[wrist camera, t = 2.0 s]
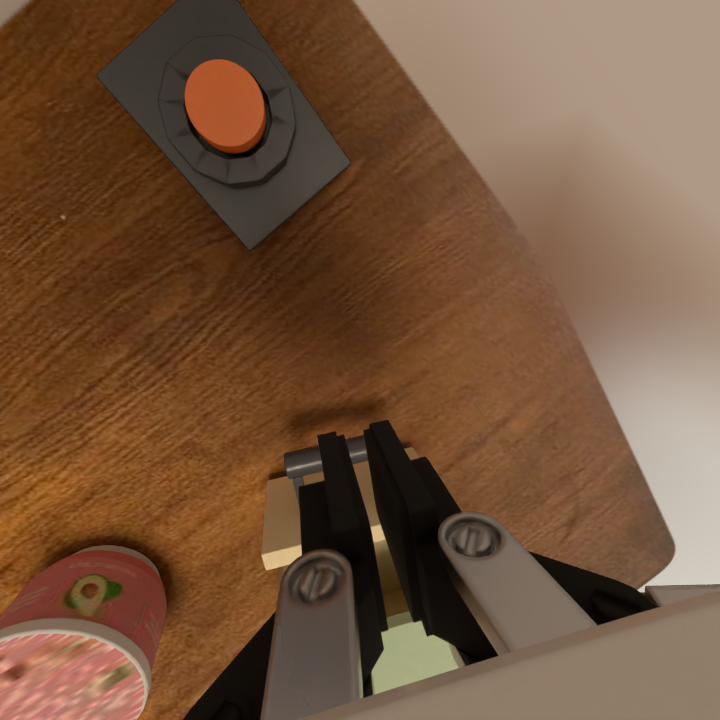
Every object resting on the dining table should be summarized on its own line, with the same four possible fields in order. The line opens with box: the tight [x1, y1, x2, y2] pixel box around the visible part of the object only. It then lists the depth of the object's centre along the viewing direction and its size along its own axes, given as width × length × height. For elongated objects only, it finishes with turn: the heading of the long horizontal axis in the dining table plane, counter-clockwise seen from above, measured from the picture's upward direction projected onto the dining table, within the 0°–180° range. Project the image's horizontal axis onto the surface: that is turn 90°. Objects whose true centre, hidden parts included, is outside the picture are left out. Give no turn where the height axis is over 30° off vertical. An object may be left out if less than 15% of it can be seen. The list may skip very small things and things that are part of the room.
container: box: [0, 545, 167, 720], centre depth 26 cm, size 10×10×8 cm
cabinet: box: [279, 566, 458, 694], centre depth 31 cm, size 15×13×9 cm
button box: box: [96, 0, 351, 251], centre depth 21 cm, size 11×8×4 cm
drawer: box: [261, 429, 419, 617], centre depth 28 cm, size 18×11×7 cm, turn 8°
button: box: [185, 59, 266, 154], centre depth 19 cm, size 4×4×2 cm
